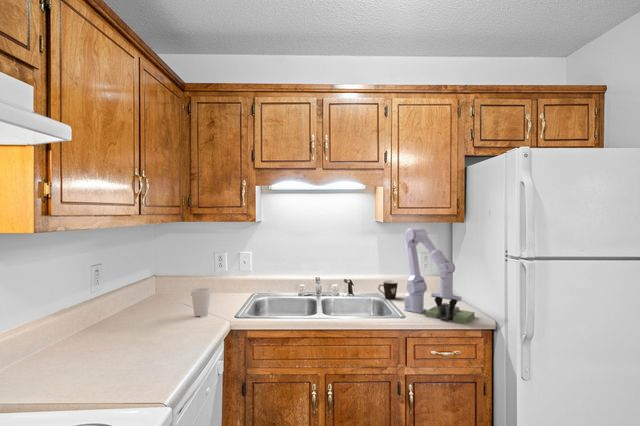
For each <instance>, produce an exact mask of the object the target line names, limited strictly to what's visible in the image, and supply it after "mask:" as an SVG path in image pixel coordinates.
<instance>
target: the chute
mask: <svg viewBox="0 0 640 426" xmlns="http://www.w3.org/2000/svg"><path fill="white" fill-rule="evenodd" d="M453 316H454V311H453V314H452V315H450V303H447V302H442V304H441V305H439V306H438V318H437V319H441V320H446V321H450V319H453V318H452V317H453Z"/></svg>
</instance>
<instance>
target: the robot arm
mask: <svg viewBox="0 0 640 426" xmlns="http://www.w3.org/2000/svg"><path fill="white" fill-rule="evenodd" d="M428 235H429V234H428V232H427V231H426V229H425V228H423V227H416V228H413V227H412V228H408V229H406V231H405V233H404V237H405V241H404V242H405V243H404V245H405V250H406V251H405V252H406V258H407V263H408V272H409V277H408V278H407V280H406V290H407V292H406V294H405V295H404V308H403V310H404V311H405V312H412V313H418V314H421V313H423V312H426V311H427V308H425V307H424V299H425V298H424V296H425V294H426V293H425V292H426V291H427V289H428V287H427V282H426V281H425V278H424V276H422V275H421V271H420V263H419V257H418V251H417V250H418V249H417V246H418V244H419V243H421V244H422V245H423V246H424V248H425V249H427V250H428V252H429V253H430V258H431V259H432V261H433V262H434V263H435V265H436V266H437V271H438V273H439V277H440V279H439V281H440V282H439V292H438V293H437V292H431V293H430V298H434V299H433V300H434V302H435V304H436V306H437V307H438V306H439V305H441V304H443V300H449V301H448V302H449V303H448V304H450V315H452V314H453V311H454V308H455V306H457V303H458V302H459V303H460V302H461V301H462V298H463V297H462V296H458V295H455V294H454V295H453V273H455V270H456V266H455V264H454V262H453V261H450V260H449V259H448V258H447V257H446V256H445V255H444V252H443V251H442V250H440V249H437V248H436V246H435V245H434V244H433V242H432V240H431V239H430V237H429V236H428Z"/></svg>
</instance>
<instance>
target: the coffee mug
mask: <svg viewBox="0 0 640 426" xmlns="http://www.w3.org/2000/svg"><path fill="white" fill-rule="evenodd" d="M398 284H399V283H398V281H396V280H390V279H389V280H384V281H383V284H379V285H378V291H380V293H382V294H384V299H385V300H390V301H391V300H397V299H396V298H397V293H398V292H397V290H398ZM381 286H382V287H383V291H382V290H381V289H380V288H381Z"/></svg>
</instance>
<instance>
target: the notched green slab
mask: <svg viewBox="0 0 640 426" xmlns="http://www.w3.org/2000/svg"><path fill="white" fill-rule="evenodd" d="M425 317H428V318H433V319H439V318H438V307H437V305H435V306H433V307H431V308H429V309H428V310H427V309H426V310H425ZM451 319H452V321H453V323H460V324H465V325H466V324H468V323H469V322H470V321H471V320H473V319H475V311H469V310H465V309H460V307H459V306H457V305H455V308H454V316H453V317H452V318H451Z"/></svg>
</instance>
